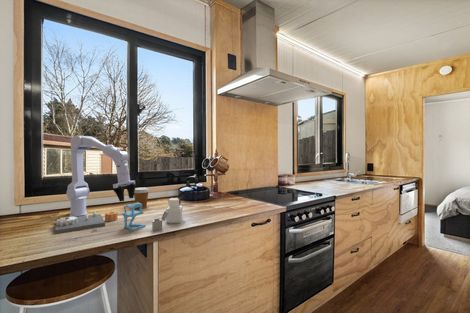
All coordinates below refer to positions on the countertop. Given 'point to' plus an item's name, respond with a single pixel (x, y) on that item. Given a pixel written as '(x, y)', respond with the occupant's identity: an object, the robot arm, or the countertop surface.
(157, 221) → the lighter
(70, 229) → the gear board
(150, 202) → the countertop surface
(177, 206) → the medicine bottle
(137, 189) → the disposable coffee cup
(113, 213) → the orange gear
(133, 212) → the chair
